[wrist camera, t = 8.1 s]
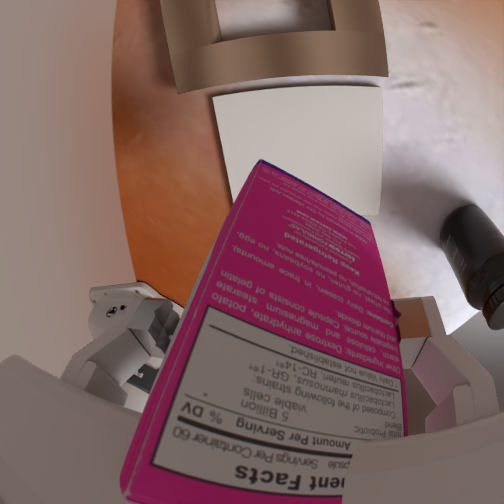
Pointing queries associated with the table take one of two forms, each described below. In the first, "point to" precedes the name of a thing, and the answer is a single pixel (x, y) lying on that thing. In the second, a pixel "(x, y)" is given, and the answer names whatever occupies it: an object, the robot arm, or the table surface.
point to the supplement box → (273, 359)
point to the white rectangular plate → (308, 138)
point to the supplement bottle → (477, 260)
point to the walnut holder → (272, 46)
